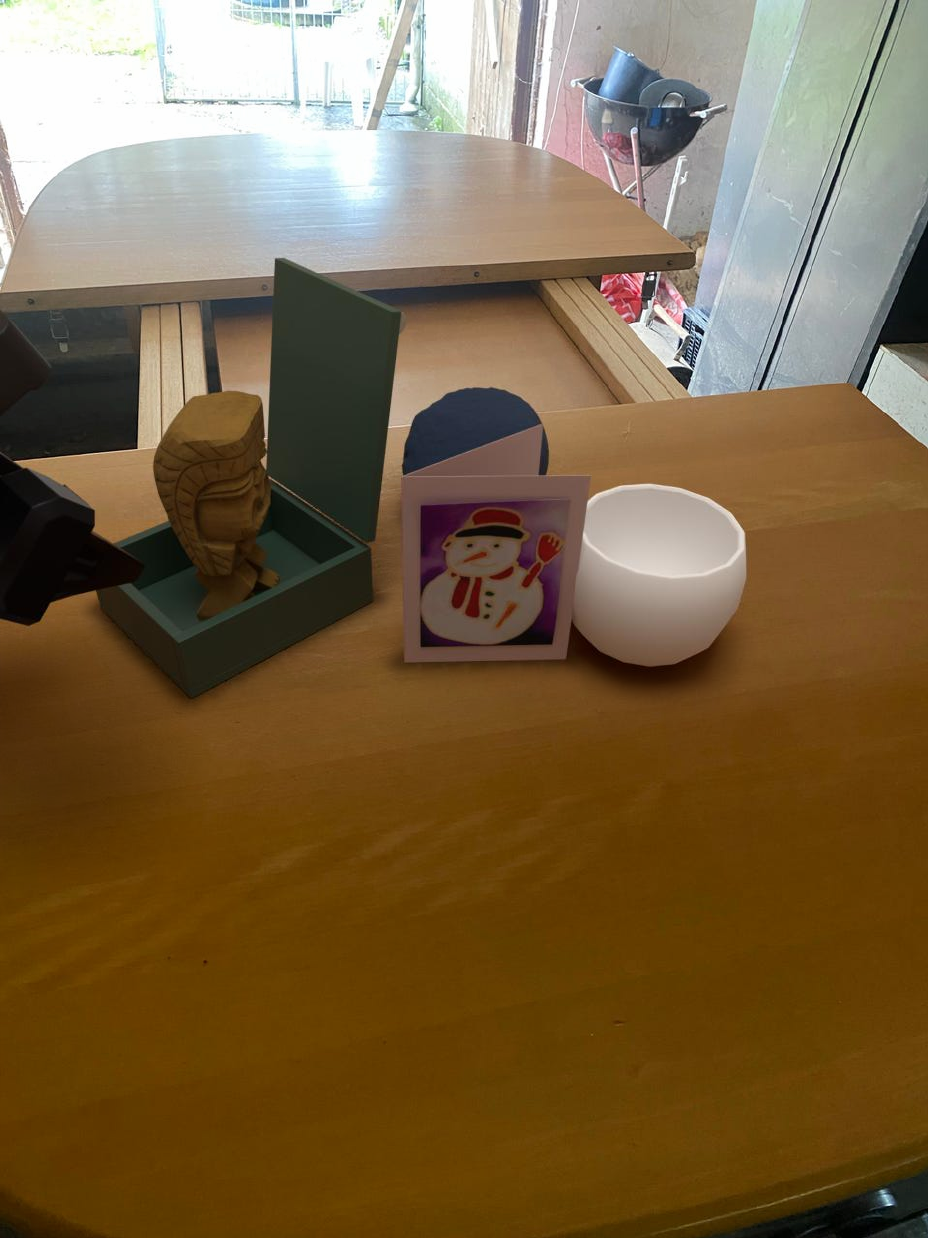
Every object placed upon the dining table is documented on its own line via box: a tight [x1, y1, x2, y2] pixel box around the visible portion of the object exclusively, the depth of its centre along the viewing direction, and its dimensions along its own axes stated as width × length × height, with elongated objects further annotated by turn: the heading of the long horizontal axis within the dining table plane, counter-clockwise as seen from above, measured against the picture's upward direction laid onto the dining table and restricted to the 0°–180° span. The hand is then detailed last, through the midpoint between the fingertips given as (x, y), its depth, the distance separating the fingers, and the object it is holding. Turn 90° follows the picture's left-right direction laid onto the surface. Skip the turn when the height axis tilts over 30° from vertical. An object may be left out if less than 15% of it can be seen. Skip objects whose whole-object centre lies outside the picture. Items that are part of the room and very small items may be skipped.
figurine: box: [152, 390, 280, 620], centre depth 63 cm, size 7×6×15 cm
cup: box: [571, 483, 747, 667], centre depth 64 cm, size 12×12×10 cm
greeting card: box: [400, 423, 592, 664], centre depth 62 cm, size 11×7×15 cm, turn 94°
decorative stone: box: [401, 386, 550, 476], centre depth 76 cm, size 12×12×10 cm
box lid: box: [265, 257, 407, 544], centre depth 66 cm, size 16×13×4 cm
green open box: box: [95, 478, 374, 699], centre depth 67 cm, size 16×13×5 cm
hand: (98, 537), depth 53 cm, fingers open, 9 cm apart
